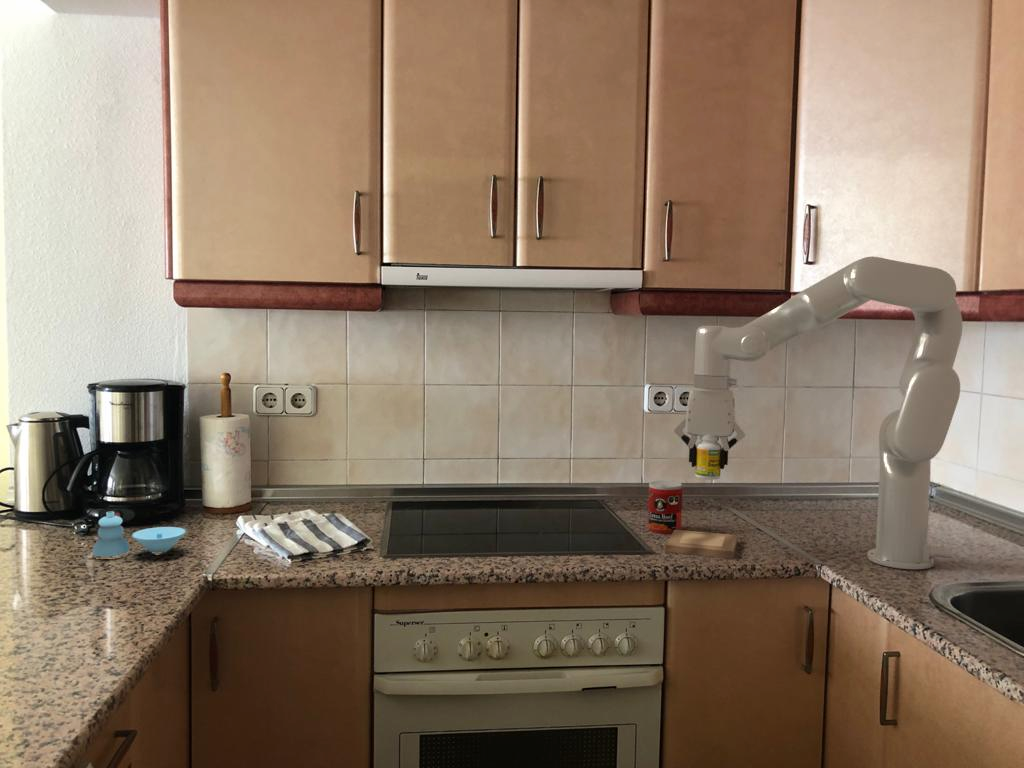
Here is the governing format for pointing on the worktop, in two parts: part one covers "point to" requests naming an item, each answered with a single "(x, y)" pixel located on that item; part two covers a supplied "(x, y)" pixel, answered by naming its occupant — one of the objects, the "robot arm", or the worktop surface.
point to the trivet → (702, 543)
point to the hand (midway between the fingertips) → (708, 466)
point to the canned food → (664, 506)
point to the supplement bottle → (708, 458)
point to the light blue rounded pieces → (149, 538)
